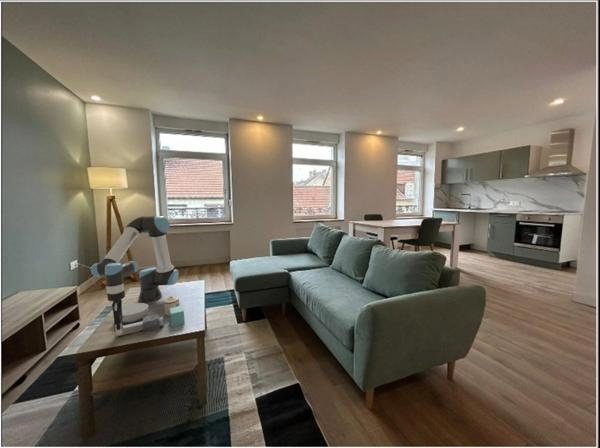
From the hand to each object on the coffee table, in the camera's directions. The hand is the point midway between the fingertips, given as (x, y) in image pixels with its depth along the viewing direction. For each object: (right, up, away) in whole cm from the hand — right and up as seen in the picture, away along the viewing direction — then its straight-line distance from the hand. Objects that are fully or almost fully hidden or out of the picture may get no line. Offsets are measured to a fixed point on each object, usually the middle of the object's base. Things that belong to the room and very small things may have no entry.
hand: (119, 332), depth 133 cm
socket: (+24, 0, +15) cm, 29 cm away
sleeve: (+13, -1, +8) cm, 15 cm away
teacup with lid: (+14, +1, +29) cm, 32 cm away
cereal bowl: (-6, -1, +19) cm, 20 cm away
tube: (+8, 0, +5) cm, 10 cm away
